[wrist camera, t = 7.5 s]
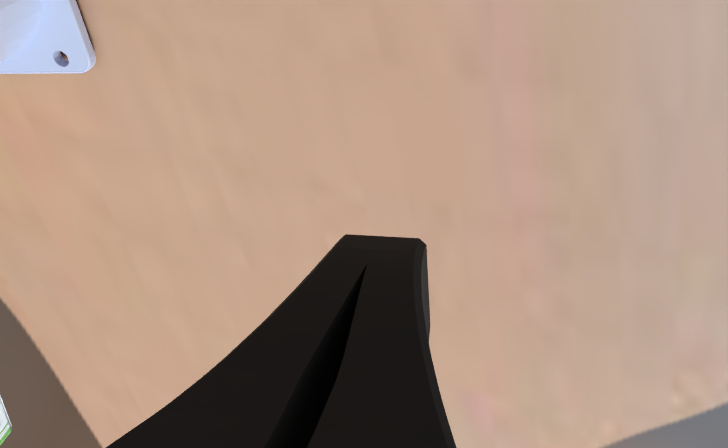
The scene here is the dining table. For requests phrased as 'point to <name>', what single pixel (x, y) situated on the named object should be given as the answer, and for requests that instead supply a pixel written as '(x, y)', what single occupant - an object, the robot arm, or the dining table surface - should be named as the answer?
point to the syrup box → (4, 422)
